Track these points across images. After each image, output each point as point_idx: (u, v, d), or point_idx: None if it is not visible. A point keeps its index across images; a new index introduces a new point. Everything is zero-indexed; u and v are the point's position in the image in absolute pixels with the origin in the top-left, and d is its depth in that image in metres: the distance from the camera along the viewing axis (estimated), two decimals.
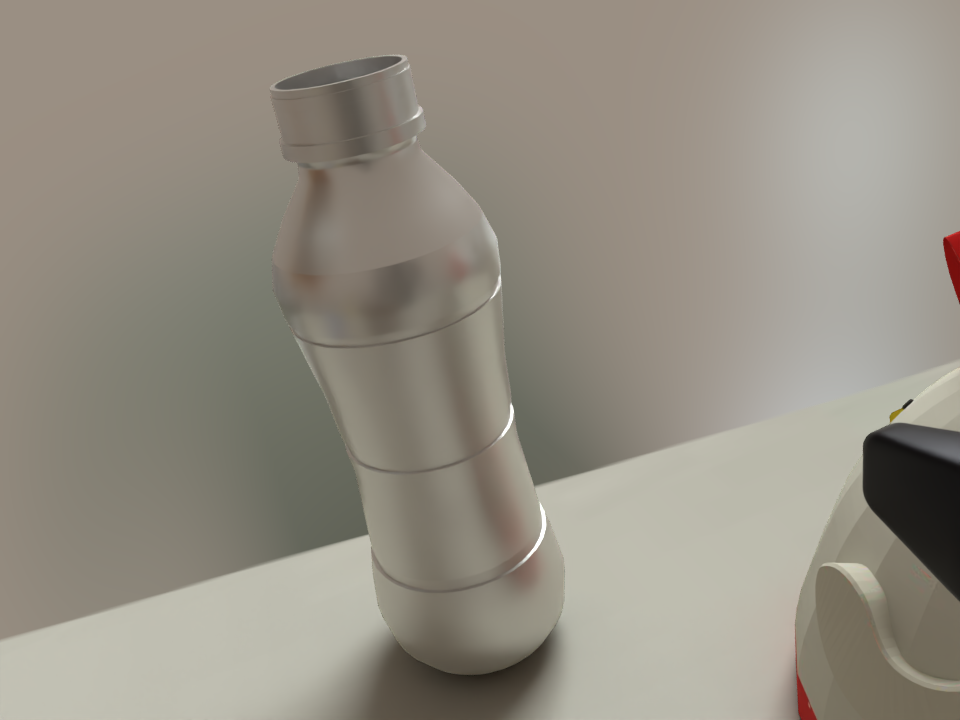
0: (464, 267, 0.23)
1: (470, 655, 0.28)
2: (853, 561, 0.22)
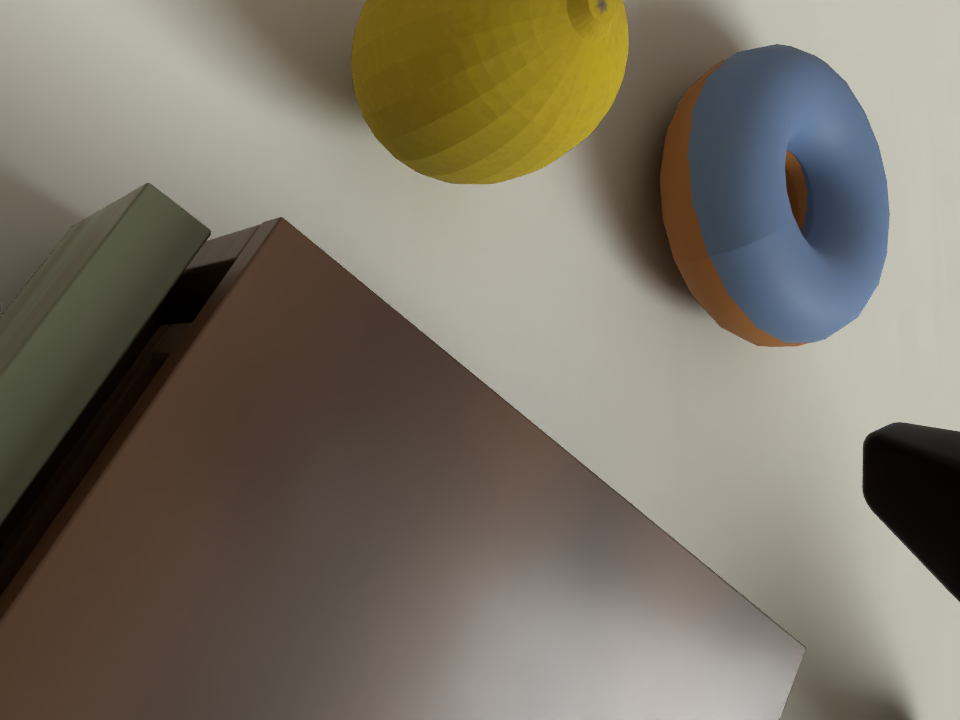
0: None
1: None
2: None
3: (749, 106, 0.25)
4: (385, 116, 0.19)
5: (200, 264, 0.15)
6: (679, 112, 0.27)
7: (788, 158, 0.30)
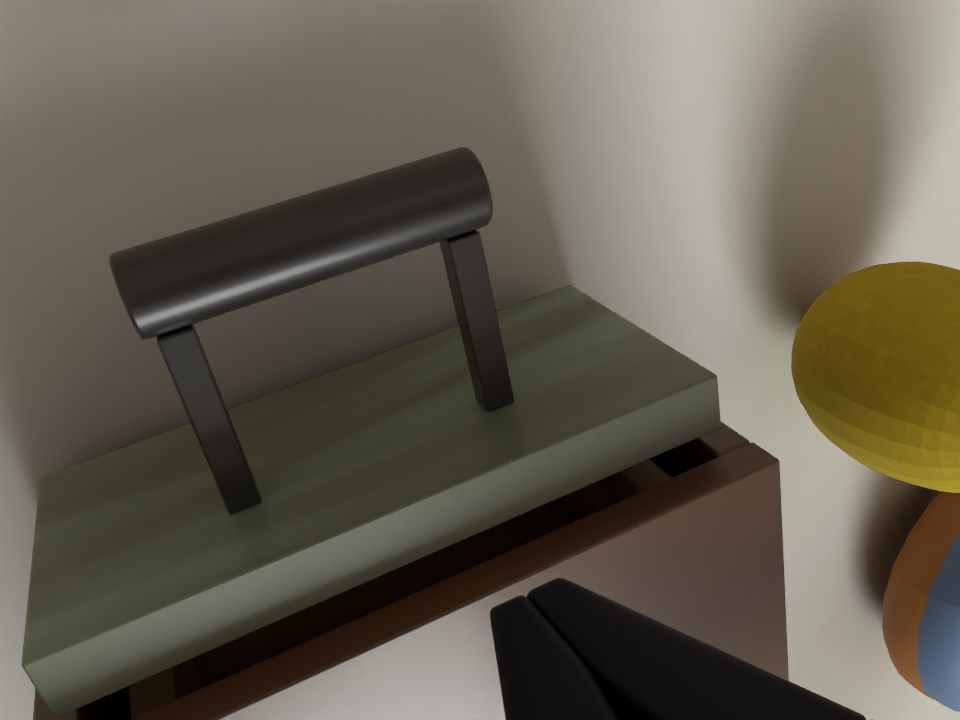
0: None
1: None
2: None
3: None
4: (826, 365, 0.22)
5: None
6: None
7: None
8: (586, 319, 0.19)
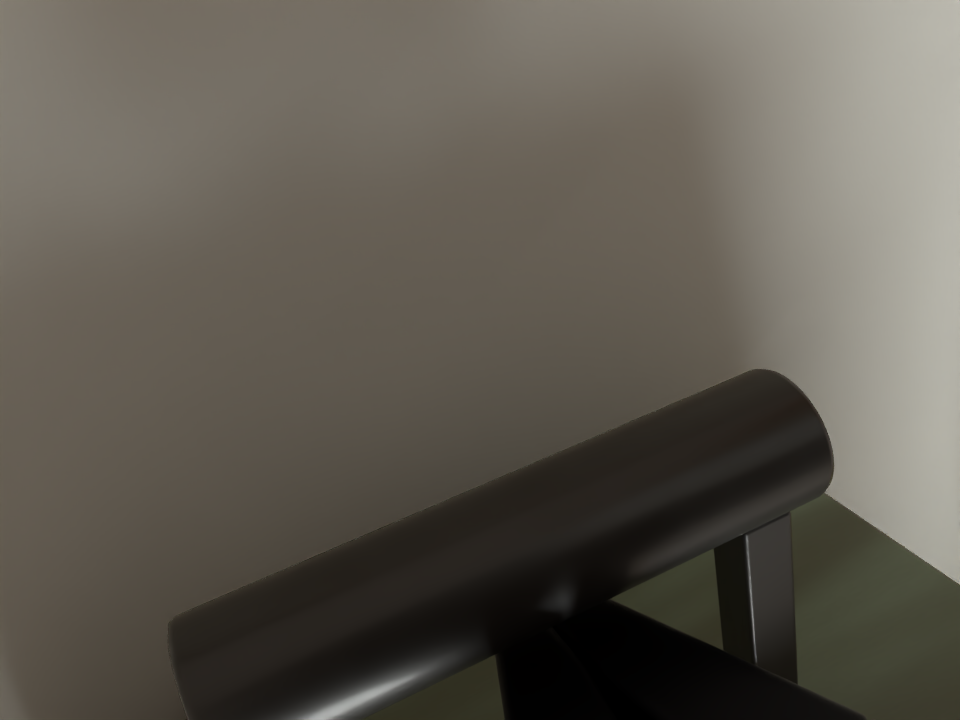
0: None
1: None
2: None
3: None
4: None
5: None
6: None
7: None
8: (850, 549, 0.13)
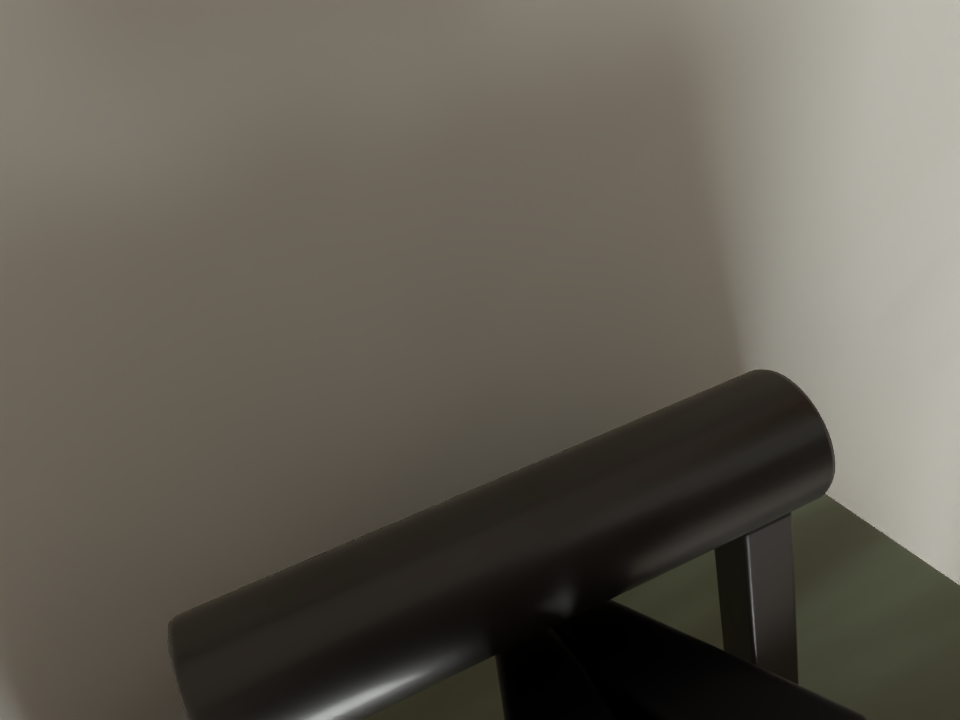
0: None
1: None
2: None
3: None
4: None
5: None
6: None
7: None
8: (850, 550, 0.13)
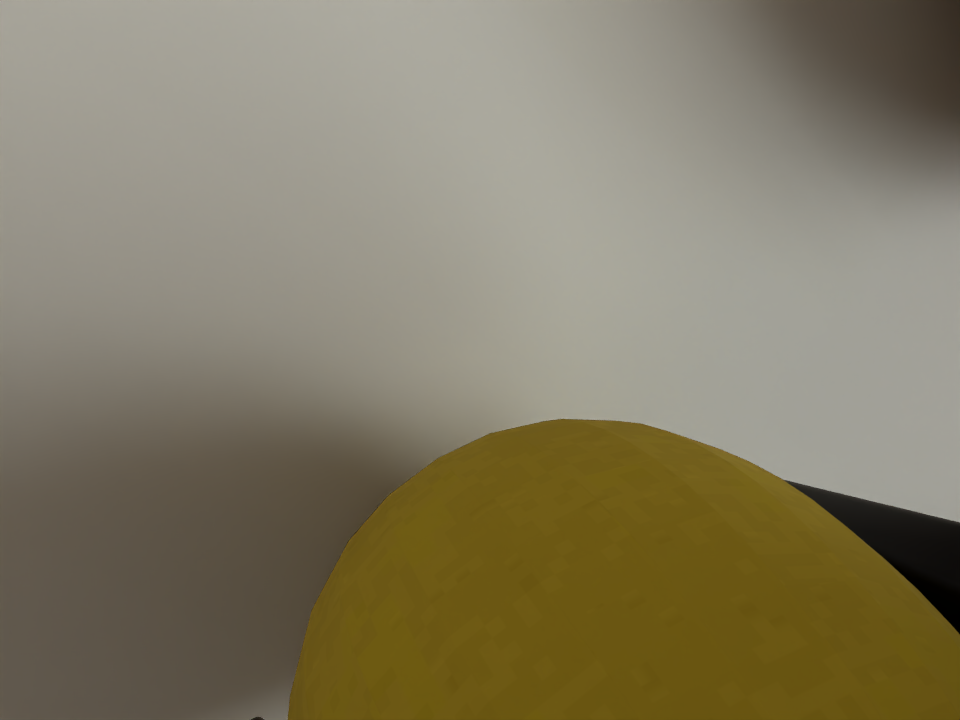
0: None
1: None
2: None
3: None
4: None
5: None
6: None
7: None
8: None
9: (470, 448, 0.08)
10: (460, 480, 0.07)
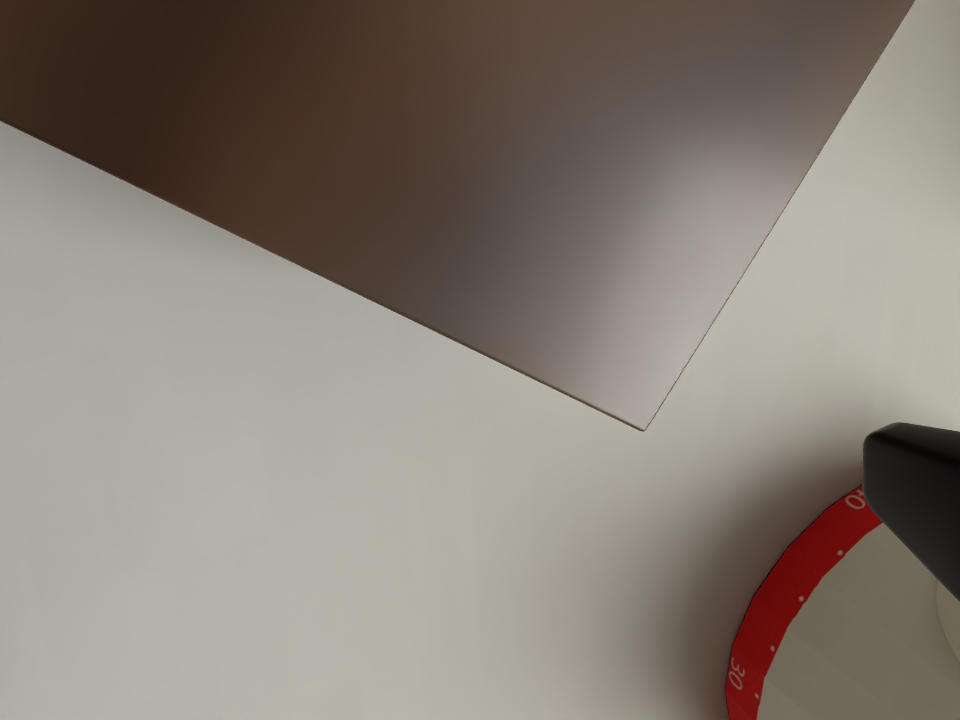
0: None
1: None
2: None
3: None
4: None
5: None
6: None
7: None
8: None
9: None
10: None
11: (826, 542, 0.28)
